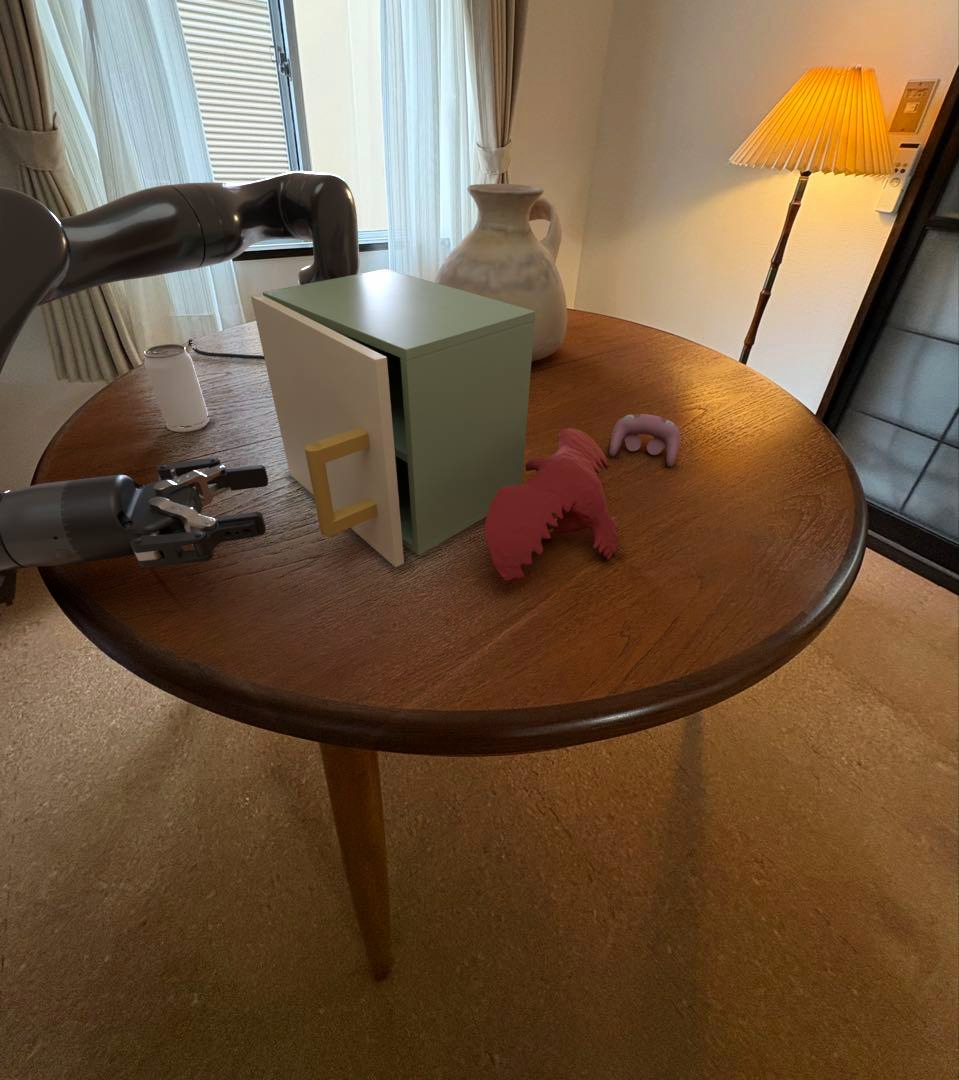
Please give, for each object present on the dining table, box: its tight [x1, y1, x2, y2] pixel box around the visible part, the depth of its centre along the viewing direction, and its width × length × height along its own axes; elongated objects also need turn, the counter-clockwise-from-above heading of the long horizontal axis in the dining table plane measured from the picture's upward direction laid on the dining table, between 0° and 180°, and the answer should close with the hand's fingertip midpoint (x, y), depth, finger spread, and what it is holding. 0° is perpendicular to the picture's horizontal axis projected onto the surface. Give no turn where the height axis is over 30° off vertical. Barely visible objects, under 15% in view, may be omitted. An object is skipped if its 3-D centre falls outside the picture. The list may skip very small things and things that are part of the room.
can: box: [143, 343, 210, 434], centre depth 86 cm, size 6×6×12 cm
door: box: [250, 293, 405, 568], centre depth 62 cm, size 8×26×24 cm, turn 41°
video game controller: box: [608, 413, 681, 467], centre depth 84 cm, size 10×5×7 cm, turn 71°
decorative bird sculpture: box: [483, 427, 621, 581], centre depth 65 cm, size 28×9×15 cm
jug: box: [433, 183, 568, 363], centre depth 111 cm, size 29×34×30 cm
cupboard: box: [261, 268, 535, 556], centre depth 70 cm, size 18×26×24 cm
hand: (265, 497), depth 54 cm, fingers open, 8 cm apart
